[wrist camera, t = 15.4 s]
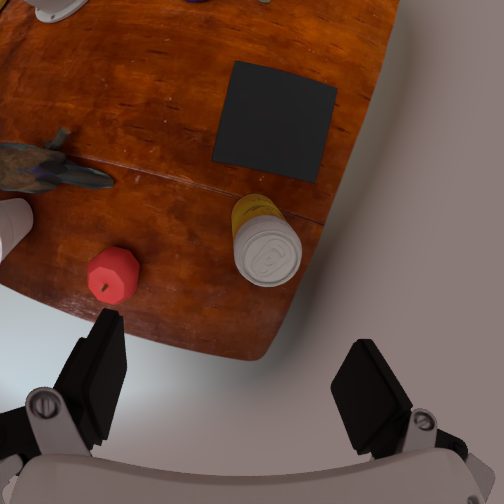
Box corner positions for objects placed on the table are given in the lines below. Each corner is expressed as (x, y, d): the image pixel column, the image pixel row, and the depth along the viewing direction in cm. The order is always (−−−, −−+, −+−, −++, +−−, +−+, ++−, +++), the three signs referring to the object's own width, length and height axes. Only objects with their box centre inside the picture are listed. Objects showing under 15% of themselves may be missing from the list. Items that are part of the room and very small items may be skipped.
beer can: (285, 214, 38) (318, 257, 24) (254, 244, 39) (269, 302, 25) (253, 183, 36) (271, 210, 22) (222, 215, 37) (219, 262, 23)
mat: (235, 61, 29) (235, 60, 29) (336, 88, 32) (337, 88, 31) (211, 160, 34) (211, 160, 34) (314, 183, 37) (315, 183, 36)
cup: (46, 196, 33) (2, 216, 23) (39, 251, 36) (2, 282, 26) (8, 179, 31) (-36, 195, 21) (3, 232, 34) (-35, 256, 24)
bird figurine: (128, 143, 31) (-16, 131, 13) (108, 211, 35) (-25, 228, 17) (85, 124, 35) (-23, 115, 17) (70, 180, 39) (-34, 186, 21)
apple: (151, 285, 40) (138, 315, 33) (107, 290, 40) (88, 318, 33) (138, 235, 37) (119, 258, 30) (92, 243, 37) (68, 266, 29)
